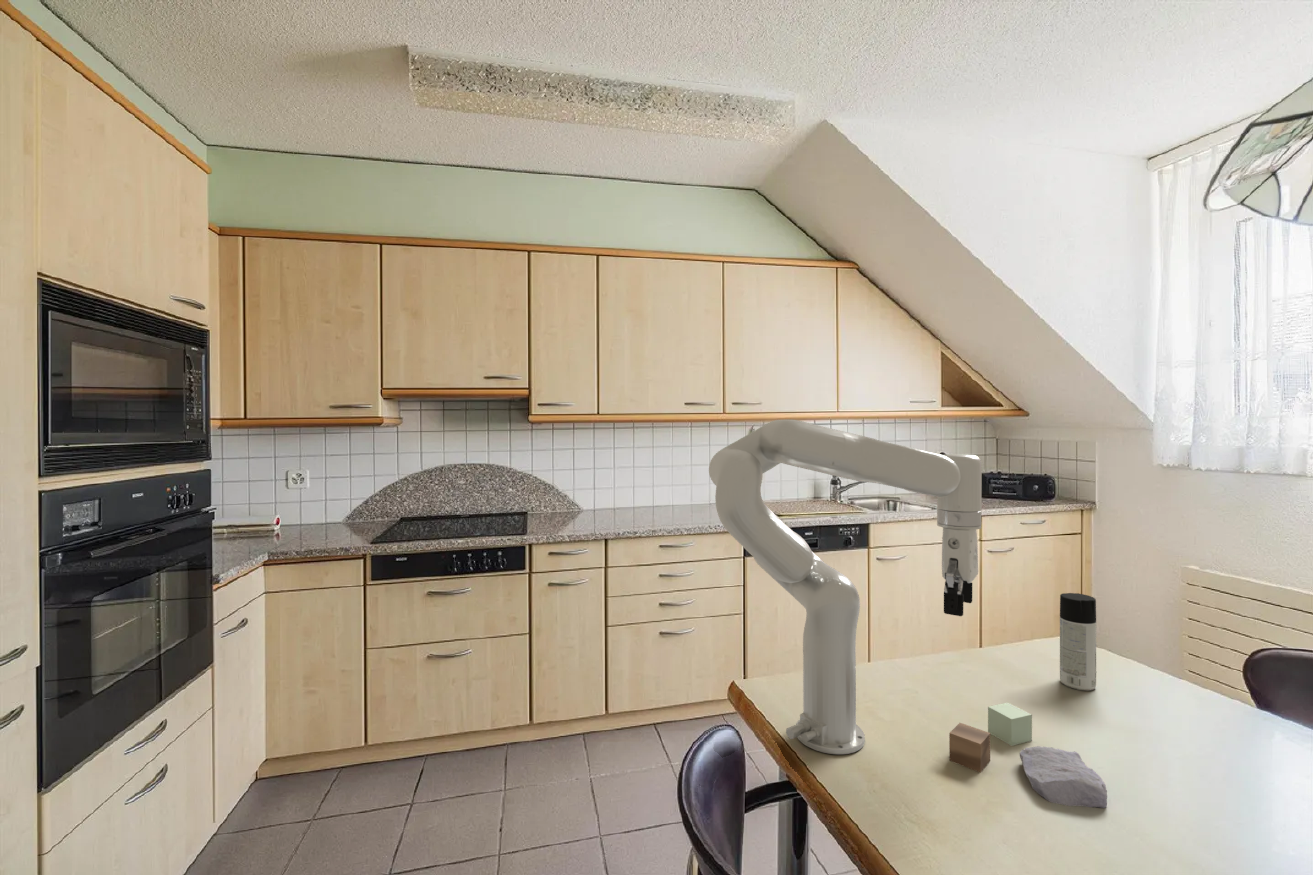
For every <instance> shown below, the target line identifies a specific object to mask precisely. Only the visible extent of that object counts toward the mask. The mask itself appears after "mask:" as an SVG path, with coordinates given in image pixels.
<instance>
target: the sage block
mask: <svg viewBox="0 0 1313 875" xmlns="http://www.w3.org/2000/svg"><path fill="white" fill-rule="evenodd" d="M987 732H989V733H990V735H993V736H995V737H996V738H998V739H999V740H1001V741H1003V743H1006V744H1008V745H1009V746H1010V747H1011V746H1016V745H1021V744H1025V743H1028V742H1032V741H1033V714H1031V713H1030V712H1027V711H1026V710H1024V709H1022V708H1019V707H1018V706H1016V705H1013V704H1012V703H1010V702H1004V703H999V704H995V705H990V706H987Z"/></svg>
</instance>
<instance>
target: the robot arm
mask: <svg viewBox="0 0 1313 875" xmlns="http://www.w3.org/2000/svg"><path fill="white" fill-rule="evenodd" d="M780 464H783V465H787V466H791V467H797V468H800V469H804V470H808V471H809V470H810V471H813V472H816V473H817V472H818V473H821V474H827V475H830V476H834V477H838V478H843V479H847V480H851V481H855V482H863V483H864V482H865V483H872V484H878V485H884V486H889V487H894V488H897V489H903V490H905V491H908V492H912V493H916V494H921V495H926V496H931V497H936V506H937V507H936V525H937V526H938V527H941V528H942V537H941V538H942V540H941V542H942V543H941V570H942V571H941V574H942V578H943V579H944V588H943V613H944V614H945V615H950V616H956V617H962V616H964V603H967V604H971V603H973V581H974V580H975V579H976V577H977V576H978V574H979V551H978V550H979V549H978V533H977V532H978V531H977V530H981V529H982V491H983V490H982V487H983V486H982V477H983V476H982V471H983V467H982V466H983V465H982V459H980V457H978V455H975V454H965V453H964V454H962V453H952V454H951V453H950V454H949V453H947V454H939V453H935V452H931V451H927V450H923V449H919V448H914V447H911V446H906V445H899V444H895V443H891V442H887V441H884V440H880V439H876V438H872V437H868V436H865V435H860V434H857V433H851V432H847V431H844V430H839V429H834V428H830V427H826V426H822V425H819V424H816V423H815V424H814V423H809V422H807V421H801V420H797V419H791V418H790V419H775V420H771V421H770V422H769V421H768V423H766V424H764V425H762V426H760V427H759V428H757V429H755V430H753V431H752V432H749V433H748V434H747V435H745V436H743V437H741V438H739V439H738V440H737V439H736V441H734V442H732V443H731V444H729V445H727V446H725V447H723V448H721V449H720V450H718V451H716V453H715V454H714V455H713V456H712V458H711V459H710V462H709V466H708V473H709V478H710V480H711V481H712V483H713V484H714V486H716V488H715V495H714V496H715V501H714V502H715V508H716V513H717V515H718V518H719V521H720V522H721V524H722V526H723V528H725V530H726V531H727V533H729V535H730V536H732V538H733V539H734V540H735V541H737V542H738V543H739V545H741V547H742V548H744V550H746V552H747V553H748V554H750V555H751V556H752V557H753V560H754V561H755V563H756V564H757V565H758V566H759V567H760V568H761V569H762V570H763V571H764V572H765V573H767V574H768V575H769V576H770V577H771V578H772V579H774V581H775V582H777V583H778V585H780V586H781V587H782V588H783V589H784V590H785V591H787V592H788V593H789V595H791V596H792V597H793V599H795V600H796V601H797V602H798V603H799V604H800V605H802V607H803V608H804V609H805V612H806V613H805V614H806V617H805V623H804V627H803V634H802V653H803V654H802V672H803V674H802V675H803V680H802V684H803V685H802V688H803V689H802V692H803V695H802V696H803V698H802V700H803V701H802V702H803V705H802V707H803V710H802V711H803V712H802V713H800V714H799V720H797V721H796V723H795V724H794V725H792V726H789V727H787V728H786V730H785V734H786V736H787V737H788V738H789V739H790V740H793V739H798V740H799V742H800V743H802V745H805V746H806V747H808V748H810V749H811V750H814V751H816V752H820V753H824V754H830V755H848V754H853V753H855V752H857V751H859V750H861V749H862V748H863V747H864V745H865V742H866V740H865V739H866V737H865V735H866V734H865V732H864V730H863V729H862V728H861V727H860V726H859V725H858V724H857V687H856V686H857V682H856V681H857V669H856V668H857V662H856V660H857V658H856V656H857V655H856V653H857V652H856V644H857V643H856V640H857V626H858V620H859V617H860V609H861V603H860V602H861V600H860V594H859V592H858V589H857V587H856V586H855V585H854V583H853V582H852V581H851V579H850V578H848V576H846V575H845V574H844V573H842V572H840V571H839V570H837V569H835V568H834V567H831V566H830V564H827V563H826V562H824V561H823V560H822V558H820V557H819V556H818V555H817V554H815V553H814V552H813V551H812V549H811V547H810V546H809V544H808V543H807V541H806V540H805V539H804V538H803V537H802V536H801V535H800V534H798V533H797V532H795V531H793V529H792V528H790V527H789V526H788V525H787V524H786V523H784V521H782V520H781V519H780V518H779V516H777V515H776V514H775V513H774V512H773V511H772V510H771V509H770V507H768V506H767V505H766V503H765V501H764V500H763V497H762V493H761V492H762V491H761V487H762V481H763V475H764V474H765V473H766V472H768V471H770V470H771V469H773V468H774V467H777V466H778V465H780Z"/></svg>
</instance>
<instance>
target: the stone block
mask: <svg viewBox="0 0 1313 875" xmlns="http://www.w3.org/2000/svg"><path fill="white" fill-rule="evenodd" d="M1019 759H1020V761H1021V764H1022V766H1023V770H1024V773H1025V776H1026V777H1027V778H1028V780H1029V782H1030V785H1031V788H1032V789H1033V790H1034V791H1035V792H1036V793H1037V794H1039V795H1040V796H1041V797H1042V798H1043V799H1045V800H1046V801H1048V802H1050V803H1053V804H1059V805H1062V806H1069V807H1070V806H1071V807H1073V806H1075V807H1079V806H1080V807H1088V808H1101V809H1106V808H1107V805H1108V794H1107V793H1108V790H1107V786H1106V783H1105V782H1104V781H1103V779H1102V777H1101V776H1100V775H1099V774H1098V773H1097V771H1095V770H1094V769H1093V768H1090V767H1088V766H1087V765H1086V763H1085V762H1084V761H1083V760H1082V758H1081V755H1080V753H1078V752H1077V751H1068V750H1063V749H1060V748H1054V747H1050V746H1039V745H1037V746H1031V747H1025V748H1024V749H1021V750H1020V751H1019Z"/></svg>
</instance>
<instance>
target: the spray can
mask: <svg viewBox="0 0 1313 875" xmlns="http://www.w3.org/2000/svg"><path fill="white" fill-rule="evenodd" d="M1059 596H1060V597H1059V680H1060V683H1061V684H1063V685H1064V686H1066V687H1067V688H1071V689H1073V690H1078V691H1090V692H1091V691H1093V690H1095V689H1096V688H1097V600H1096V598H1095V597H1094V596H1092V595H1088V594H1084V593H1077V592H1076V593H1074V592H1068V593H1067V592H1066V593H1061V594H1060V595H1059Z"/></svg>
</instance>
